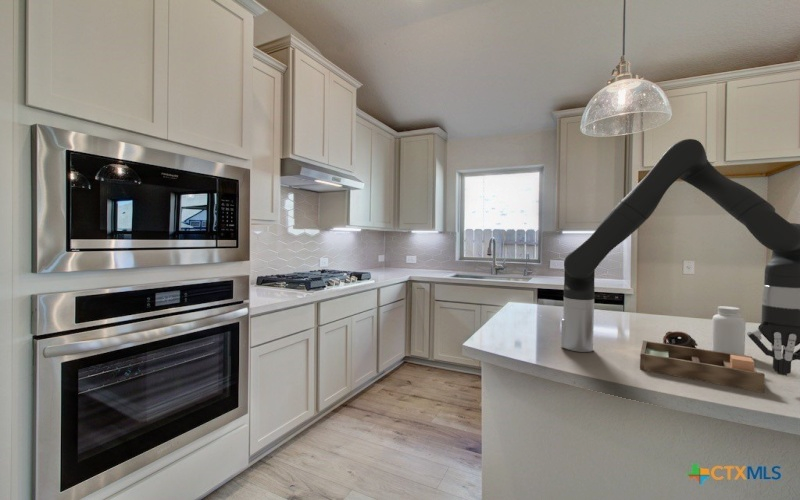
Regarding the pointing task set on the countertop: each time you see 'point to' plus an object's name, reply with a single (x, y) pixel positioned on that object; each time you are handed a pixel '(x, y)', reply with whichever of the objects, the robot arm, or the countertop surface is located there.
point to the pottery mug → (674, 339)
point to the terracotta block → (741, 363)
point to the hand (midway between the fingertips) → (781, 374)
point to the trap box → (698, 365)
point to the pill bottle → (728, 331)
